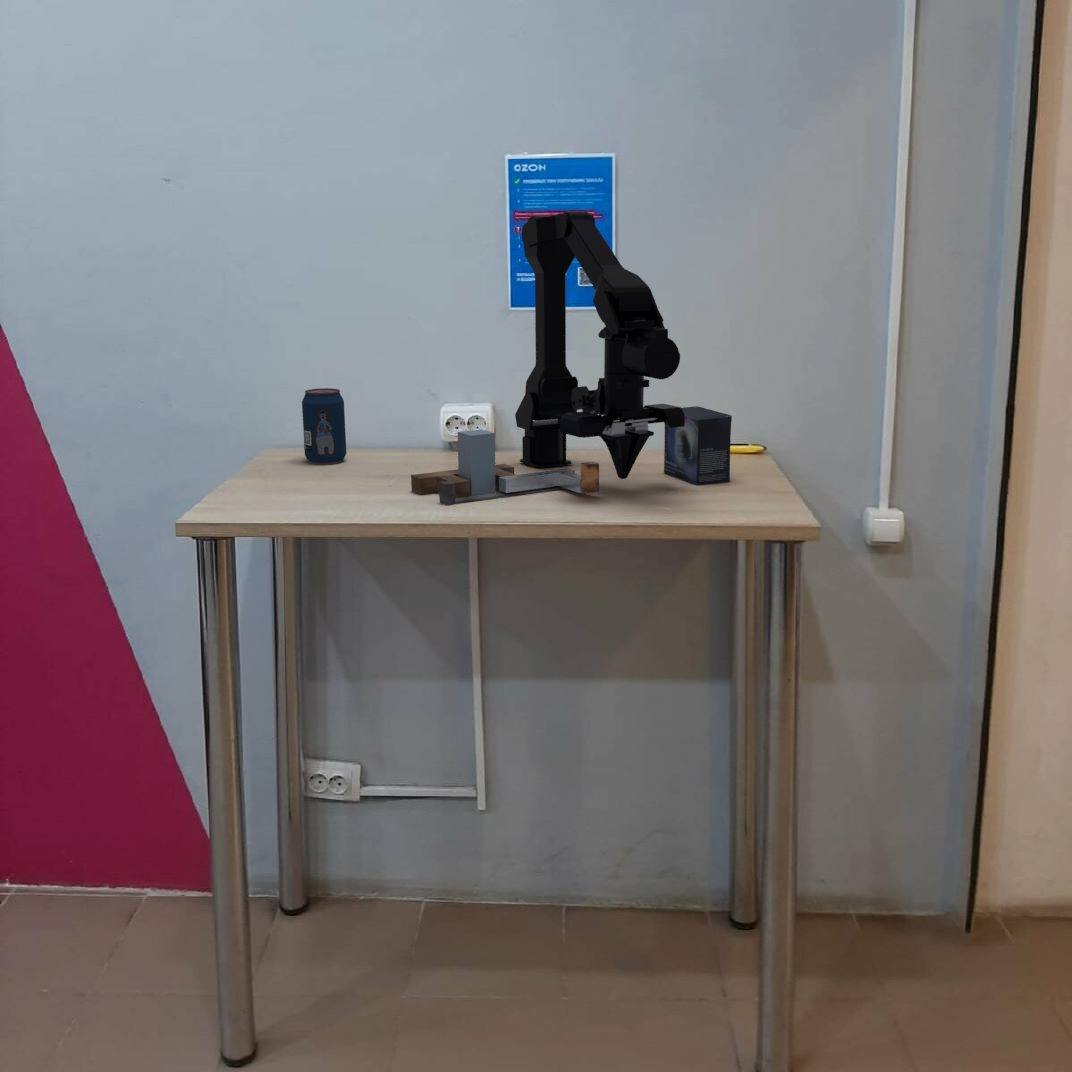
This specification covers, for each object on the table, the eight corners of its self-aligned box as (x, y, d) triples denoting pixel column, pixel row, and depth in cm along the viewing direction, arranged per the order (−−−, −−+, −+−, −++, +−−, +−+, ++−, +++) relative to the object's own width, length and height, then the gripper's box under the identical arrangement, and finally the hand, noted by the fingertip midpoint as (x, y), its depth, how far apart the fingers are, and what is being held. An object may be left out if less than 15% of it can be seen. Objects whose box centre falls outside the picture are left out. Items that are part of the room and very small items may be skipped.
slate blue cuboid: (482, 488, 177) (481, 429, 174) (495, 493, 173) (494, 433, 171) (458, 491, 174) (457, 431, 172) (471, 496, 171) (470, 435, 169)
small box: (660, 473, 187) (662, 408, 184) (695, 470, 189) (697, 405, 187) (694, 486, 178) (696, 417, 175) (731, 482, 180) (734, 414, 177)
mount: (540, 474, 186) (540, 456, 185) (577, 487, 177) (577, 467, 176) (411, 491, 175) (410, 471, 174) (444, 505, 166) (444, 484, 165)
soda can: (332, 456, 202) (328, 386, 199) (354, 461, 198) (351, 390, 194) (297, 461, 198) (293, 390, 195) (319, 467, 193) (315, 394, 190)
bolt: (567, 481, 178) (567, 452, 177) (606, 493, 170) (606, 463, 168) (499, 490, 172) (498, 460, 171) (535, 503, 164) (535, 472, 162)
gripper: (642, 362, 180) (641, 462, 184) (539, 370, 170) (539, 476, 174) (688, 369, 170) (685, 475, 174) (581, 378, 161) (581, 489, 165)
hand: (622, 478), depth 172 cm, fingers closed
